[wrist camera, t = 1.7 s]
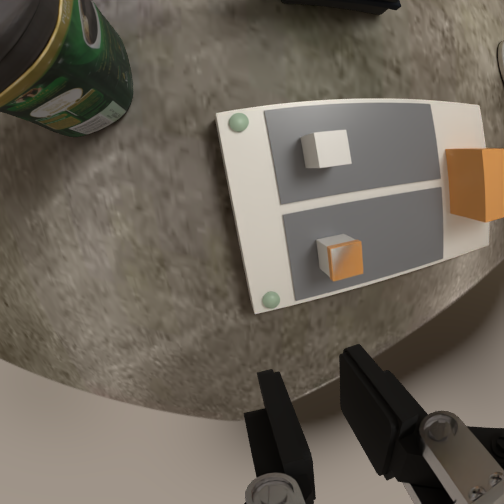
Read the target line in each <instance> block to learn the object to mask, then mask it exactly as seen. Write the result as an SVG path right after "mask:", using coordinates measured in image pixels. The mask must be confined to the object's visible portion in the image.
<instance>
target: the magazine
mask: <svg viewBox="0 0 504 504" xmlns="http://www.w3.org/2000/svg"><path fill="white" fill-rule="evenodd" d="M281 1H282V3H291V4H307V5H318V6H327V7H336V8H343V9H350V10H356V11H362V12H367V13H372V14H377V15H381V14H382V13H384V12H385V11H386V10H387V9H392V10H397V9H398V8H400V7H401V4H400V1H399V0H281Z"/></svg>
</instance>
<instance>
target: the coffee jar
mask: <svg viewBox="0 0 504 504" xmlns="http://www.w3.org/2000/svg"><path fill="white" fill-rule="evenodd" d="M132 98H133V82H132V74H131V68H130V64H129V60H128V56H127V53H126V50H125V47H124V44H123V42H122V40H121V38H120V37H119V35H118V34H117V32H116V31H115V30H114V28H113V27H112V26H111V25H110V23H109V22H108V21H107V20H106V18H105V17H104V16H103V15H102V13H101V12H100V11H99V9H98V8H97V6H96V5H95V4H94V2H93V1H92V0H0V112H3V113H7V114H10V115H13V116H16V117H19V118H22V119H25V120H28V121H30V122H33V123H35V124H38V125H40V126H42V127H45V128H47V129H49V130H51V131H53V132H56V133H59V134H62V135H66V136H70V137H79V136H84V135H87V134H90V133H93V132H96V131H98V130H100V129H103V128H105V127H107V126H108V125H110V124H112V123H114V122H115V121H117V120H118V119H119V118H121V117H122V116H123V115H124V114H125V112H126V111H127V110H128V108H129V106H130V104H131V101H132Z"/></svg>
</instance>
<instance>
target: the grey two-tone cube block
mask: <svg viewBox="0 0 504 504" xmlns="http://www.w3.org/2000/svg"><path fill="white" fill-rule="evenodd" d="M316 242H317V250H318V259H319V267H320V269H321V270H322V271H323V272H325V273H326V274H327V275H328V276H329V277H330V279H331V280H332V281H337V280H341V279H345V278H348V277H352V276H356V275H360V274H363V258H362V244H361V241H360V240H358V239H357V240H356V239H353V238H351V237H349V236H347V235H345V234H340V235H335V236H331V237H326V238H321V239H317V240H316Z"/></svg>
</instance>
